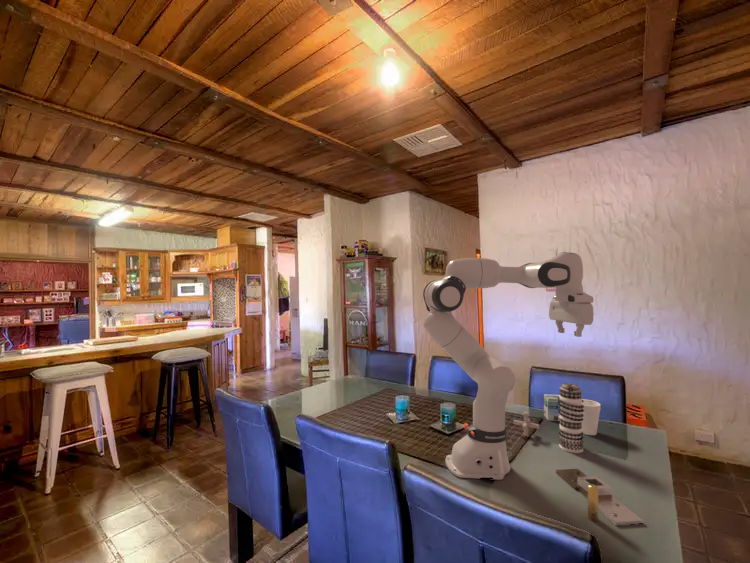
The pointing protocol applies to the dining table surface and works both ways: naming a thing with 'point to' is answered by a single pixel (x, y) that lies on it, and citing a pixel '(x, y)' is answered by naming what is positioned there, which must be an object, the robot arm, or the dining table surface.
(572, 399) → the decorative candle
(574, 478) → the hinge
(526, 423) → the pipe connector
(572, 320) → the robot arm
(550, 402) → the light bulb box
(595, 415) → the foam cup
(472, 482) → the dining table surface
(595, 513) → the brass pin
